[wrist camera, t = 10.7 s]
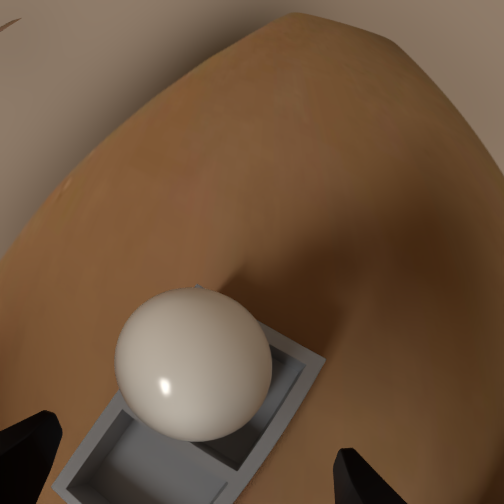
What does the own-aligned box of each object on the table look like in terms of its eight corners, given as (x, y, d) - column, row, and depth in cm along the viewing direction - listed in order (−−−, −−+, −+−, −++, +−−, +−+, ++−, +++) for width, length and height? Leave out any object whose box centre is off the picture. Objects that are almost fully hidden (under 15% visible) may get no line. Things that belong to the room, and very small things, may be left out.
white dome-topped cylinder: (215, 443, 16) (156, 485, 5) (167, 382, 18) (59, 325, 7) (278, 396, 18) (321, 363, 7) (228, 338, 20) (199, 227, 9)
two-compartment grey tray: (180, 556, 12) (168, 577, 9) (77, 481, 15) (50, 487, 12) (314, 369, 19) (326, 359, 16) (204, 304, 21) (197, 283, 18)
